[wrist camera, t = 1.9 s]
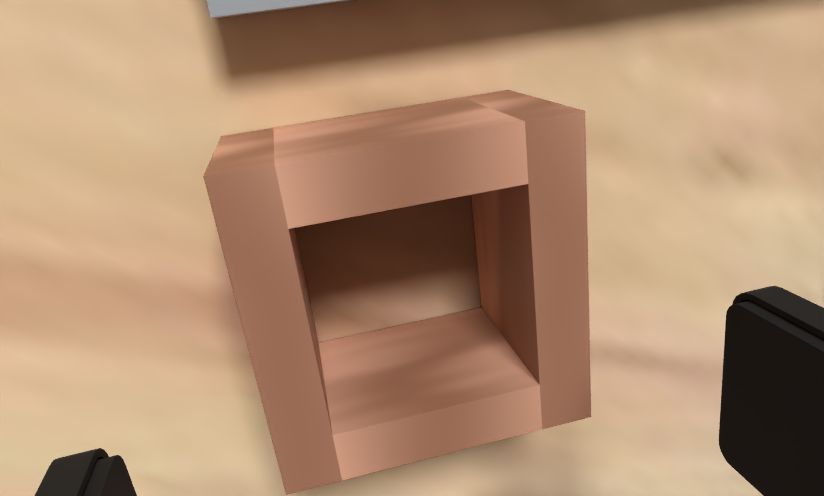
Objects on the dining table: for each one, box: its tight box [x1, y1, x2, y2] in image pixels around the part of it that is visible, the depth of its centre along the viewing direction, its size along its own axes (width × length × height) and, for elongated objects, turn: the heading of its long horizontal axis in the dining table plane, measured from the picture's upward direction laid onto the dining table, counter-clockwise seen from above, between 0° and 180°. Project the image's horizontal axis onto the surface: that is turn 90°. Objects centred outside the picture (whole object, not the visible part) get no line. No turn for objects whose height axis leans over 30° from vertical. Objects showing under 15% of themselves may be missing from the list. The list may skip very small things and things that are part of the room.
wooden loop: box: [203, 90, 591, 495], centre depth 14 cm, size 7×7×4 cm
